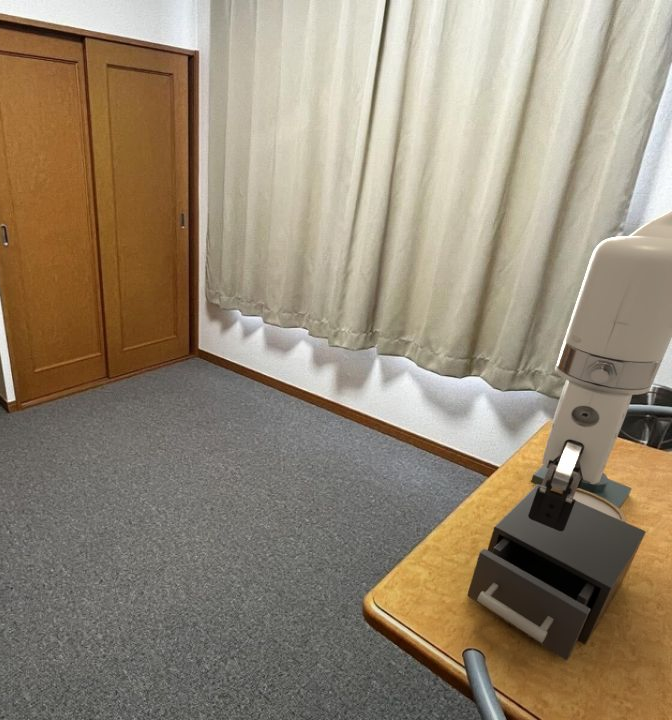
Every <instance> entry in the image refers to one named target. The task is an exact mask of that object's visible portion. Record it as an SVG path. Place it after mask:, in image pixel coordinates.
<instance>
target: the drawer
mask: <svg viewBox="0 0 672 720" xmlns="http://www.w3.org/2000/svg"><path fill="white" fill-rule="evenodd" d="M471 577H472V578H471V582H470V585H469V588H468V591H467V595H466V596H467V597H468V598H470V599H471V600H473V601H474V602H476V603H477V604H479V605H480V606H482V607H483V608H485V609H487V610H488V611H489V612H491V613H493V614H494V615H496V616H497V617H499V618H500V619H501V620H503V621H505V622H506V623H508V624H509V625H511V626H513V627H514V628H515V629H517V630H518V631H520V632H521V633H523V634H524V635H526V636H528V637H529V638H530V639H532V640H534V641H535V642H537V643H538V644H540V645H542V646H543V647H545V648H546V649H548V650H549V651H550V652H552V653H554V654H555V655H557V656H558V657H560V658H562V659H563V660H564V661H566V662H567V661H568V660H569V658H570V656H571V654H572V653H573V650H574V648H575V646H576V644H577V641H578V637H579V634H580V632H581V630H582V628H583V625H584V623H585V621H586V619H587V616H588V614H589V612H590V607H591V606H592V604H593V602H594V601H595V599H596V598H597V596H598V594H599V591H600V589H601V588H599V587H597V586H596V585H594V584H592V583H590V582H588V581H586V580H584V579H582V578H581V577H579V576H577V575H575V574H573V573H571V572H569V571H567V570H566V569H564V568H562V567H560V566H558V565H556V564H554V563H552V562H551V561H549V560H547V559H545V558H543V557H541V556H539V555H538V554H536V553H534V552H532V551H530V550H528V549H526V548H524V547H523V546H521V545H519V544H517V543H515V542H513V541H511V540H509V539H508V538H506V537H504V538H503V539H502V540H501V541H500V542H499V543H498V544H497V545H496V546H495V547H494V549H493V553H491V552H490V551H488V549H486V548H483V549H482V550H481V551H479V553H478V557H477V561H476V564H475V567H474V571H473V574H472V576H471Z"/></svg>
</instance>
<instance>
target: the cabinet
mask: <svg viewBox="0 0 672 720" xmlns="http://www.w3.org/2000/svg"><path fill="white" fill-rule="evenodd" d="M538 486H540V487H541V485H539V484H535V486H533V488H531V489H530V491H529V492H528V493H527V494H526V495H524V497H523V498H521V499H520V501H519V502H518V503H517V504H516V505H515V506H514V507H512V509H511V510H509V512H508V513H506V514H505V515H504V516H503V518H502V519H500V520H499V522H498V523H496V524H495V526H494V527H493V530H492V533H491V537H490V539H489V543H488V547H487V550H488V551H490V552H491V553H493V549H494V547H495V546H496V545H497V544H498V543H499V542H500V541H501V540H502V539H503V538H504V537H506V538H508V539H509V540H511V541H513V542H515V543H517V544H519V545H521V546H523V547H524V548H526V549H528V550H530V551H532V552H534V553H536V554H538V555H539V556H541V557H543V558H545V559H547V560H549V561H551V562H552V563H554V564H556V565H558V566H560V567H562V568H564V569H566V570H567V571H569V572H571V573H573V574H575V575H577V576H579V577H581V578H582V579H584V580H586V581H588V582H590V583H592V584H594V585H596V586H597V587H599V588H601V589H600V591H599V594H598V596H597V598H596V599H595V601H594V602H593V604H592V606H591V607H590V612H589V614H588V616H587V619H586V621H585V623H584V625H583V628H582V630H581V632H580V634H579V637H578V639H577V641H580V642H581V643H582V644H584V645H586V644H587V643H588V641H589V640H590V638H591V637H592V635H593V633H594V632H595V630H596V628H597V626H598V625H599V624H600V621H601V620H602V618H603V616H604V614H605V613H606V611H607V610H608V608H609V606H610V604H611V603H612V601H613V599H614V598H615V596H616V594H617V593H618V591H619V589H620V588H621V586H622V584H623V582H624V580H625V578H626V575H627V573H628V571H629V569H630V567H631V565H632V563H633V561H634V559H635V556H636V554H637V552H638V550H639V548H640V546H641V543H642V541H643V539H644V537H645V535H646V533H647V531H646V530H644V529H642V528H640V527H637V526H635V525H633V524H630V523H628V522H627V521H626V522H623V521H621V520H619V519H617V518H614V517H612V516H610V515H607V514H605V513H603V512H601V511H598V510H596V509H594V508H591V507H589V506H587V505H585V504H582V503H580V502H578V501H575V504H574V506H573V509H572V511H571V514H570V516H569V519H568V522H567V524H566V527H565V529H564V531H558V530H555V529H553V528H550V527H548V526H546V525H543V524H541V523H538V522H536V521H534V520H531V519H530V518H529V517H528V515H529V512H530V509H531V506H532V503H533V500H534V497H535V494H536V492H537V489H538Z"/></svg>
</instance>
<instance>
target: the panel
mask: <svg viewBox="0 0 672 720" xmlns="http://www.w3.org/2000/svg"><path fill="white" fill-rule="evenodd" d="M547 470H548V468H546V467H545V466H544V465H543V464H542V465H541V466H540V468H538V469H537V470H536V471H535V472H534V473H533V474H532V478H531V480H530V482H531V483H533V484H535V485H537V484H539V485H542V482H543V480H544V477H545V475H546V472H547ZM579 489H583V490H585V491H588V492H591V493H593V494H596V495H598V496H600V497H602V498H604V499H606V500H607V501H609V502H610V503H612V504H613V505H615V506H616V507H617V508H619V509H620V508H621V507H622V506H623V504H624V503H625V502H626V500H627V499H628V497H629V496H630V493H631V491H632V490H633V488H632V487H630V486H627V485H625V484H622V483H620V482H617V481H615V480H612V479H609V478H608V476H607V474H605V472H603V474H602V476H601V479H600V481H599V482H598V483H596V484H590V482H588V481H585V480H583V479H582V482H581V484H580V487H579Z"/></svg>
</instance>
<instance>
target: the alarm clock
mask: <svg viewBox="0 0 672 720" xmlns="http://www.w3.org/2000/svg"><path fill="white" fill-rule="evenodd" d="M570 487H571V486H570ZM573 499H575V500H576V501H578V502H580V503H582V504H585V505H587V506H589V507H591V508H594V509H596V510H598V511H601V512H603V513H605V514H607V515H610V516H612V517H614V518H617V519H619V520H621V521H623V522H626V523H627V518H626V516H625V514H624V512H623V511H622V509H620V508H617V507H616V506H615V505H613V504H612V503H610V502H609V501H607V500H606V499H604V498H602V497H600V496H598V495H596V494H593V493H591V492H588V491H585V490H583V489H579V488H577V490H576V492H575V495H574V498H573Z"/></svg>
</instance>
